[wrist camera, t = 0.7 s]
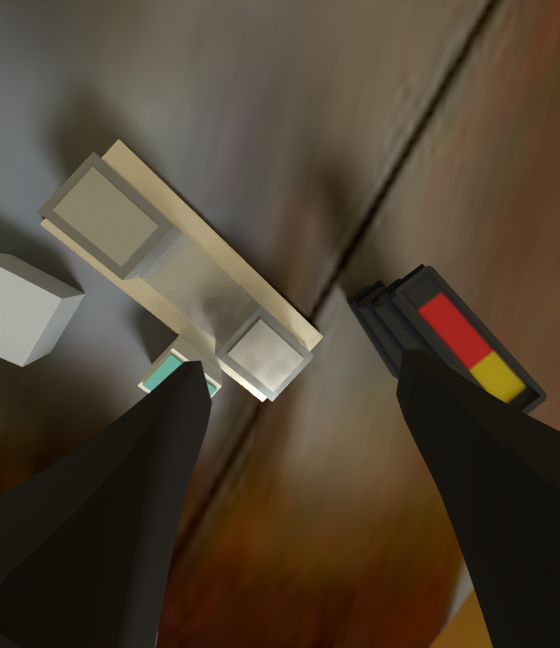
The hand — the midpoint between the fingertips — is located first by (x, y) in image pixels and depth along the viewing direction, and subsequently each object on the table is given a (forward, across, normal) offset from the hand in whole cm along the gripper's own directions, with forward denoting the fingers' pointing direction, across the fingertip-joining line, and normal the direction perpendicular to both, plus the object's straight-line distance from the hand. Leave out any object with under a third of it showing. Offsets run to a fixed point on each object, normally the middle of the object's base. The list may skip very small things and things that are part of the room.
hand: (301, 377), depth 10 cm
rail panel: (+16, +9, +2) cm, 19 cm away
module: (+14, +11, +9) cm, 20 cm away
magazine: (+19, -8, +9) cm, 23 cm away
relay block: (+13, +22, +2) cm, 26 cm away
